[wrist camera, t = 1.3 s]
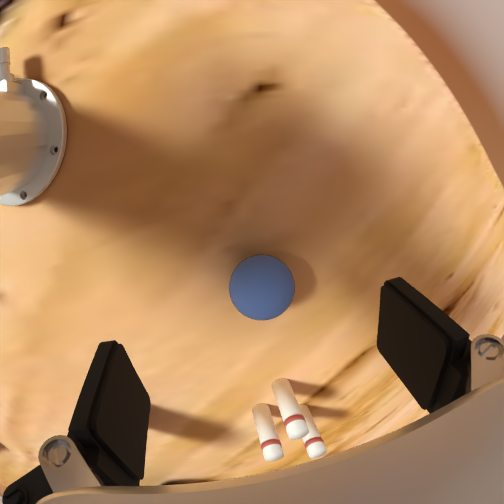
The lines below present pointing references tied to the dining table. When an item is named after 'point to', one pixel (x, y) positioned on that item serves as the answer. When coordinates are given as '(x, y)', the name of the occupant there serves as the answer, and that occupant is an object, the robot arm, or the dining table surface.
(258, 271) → the ball
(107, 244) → the dining table surface
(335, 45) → the dining table surface
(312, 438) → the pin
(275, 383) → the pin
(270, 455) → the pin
